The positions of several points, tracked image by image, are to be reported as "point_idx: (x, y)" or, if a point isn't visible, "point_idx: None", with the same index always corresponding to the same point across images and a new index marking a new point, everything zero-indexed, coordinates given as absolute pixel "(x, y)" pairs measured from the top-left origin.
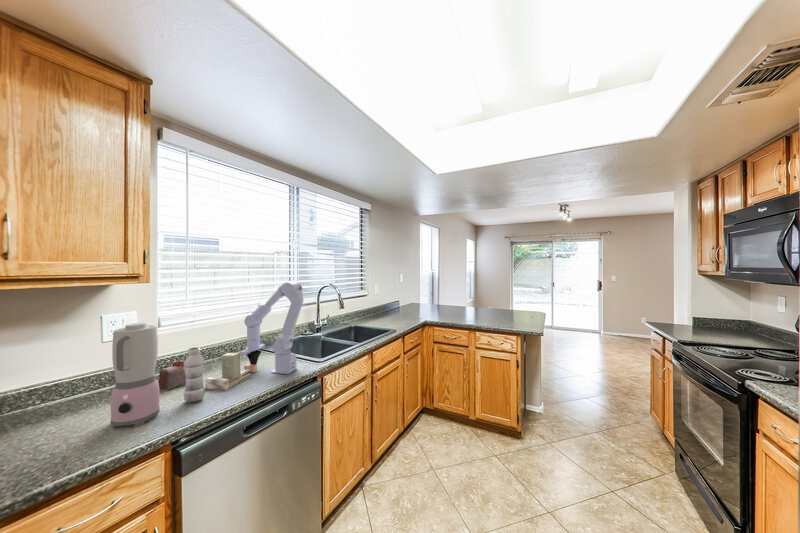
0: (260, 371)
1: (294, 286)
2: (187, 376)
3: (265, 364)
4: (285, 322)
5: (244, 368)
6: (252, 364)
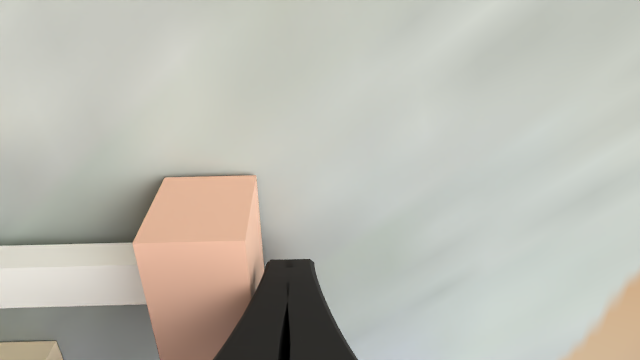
0: None
1: None
2: None
3: (580, 239)
4: None
5: (149, 213)
6: None
